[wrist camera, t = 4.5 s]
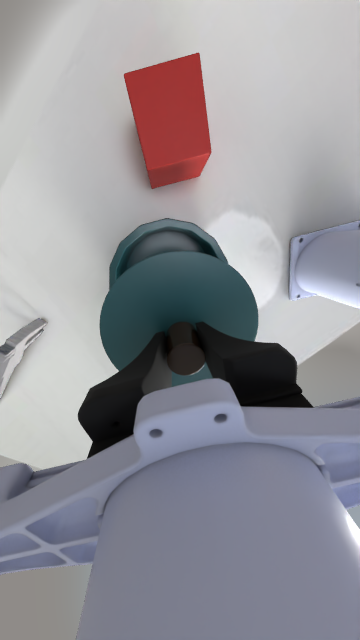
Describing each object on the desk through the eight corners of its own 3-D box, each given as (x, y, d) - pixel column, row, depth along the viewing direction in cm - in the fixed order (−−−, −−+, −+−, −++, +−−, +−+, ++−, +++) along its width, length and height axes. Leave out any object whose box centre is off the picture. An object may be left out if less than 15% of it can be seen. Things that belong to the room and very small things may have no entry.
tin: (206, 214, 19) (221, 203, 14) (220, 307, 24) (235, 325, 18) (107, 240, 19) (87, 239, 14) (140, 327, 24) (133, 350, 19)
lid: (247, 230, 12) (288, 224, 8) (255, 368, 17) (283, 406, 13) (75, 274, 12) (33, 288, 8) (134, 396, 17) (125, 442, 13)
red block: (189, 108, 15) (199, 51, 11) (199, 176, 18) (211, 152, 13) (135, 122, 16) (123, 72, 11) (151, 189, 18) (147, 170, 13)
